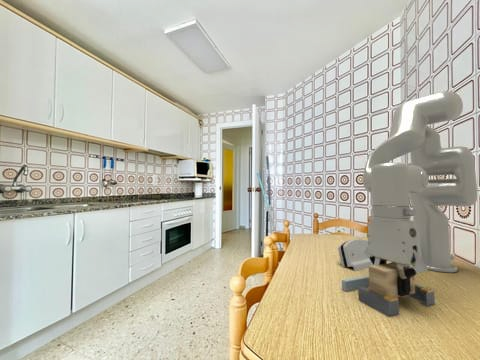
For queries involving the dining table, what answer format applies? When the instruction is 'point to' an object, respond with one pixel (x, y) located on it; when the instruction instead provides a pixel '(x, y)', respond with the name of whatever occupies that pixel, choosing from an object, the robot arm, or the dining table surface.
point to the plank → (355, 283)
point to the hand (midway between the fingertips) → (392, 289)
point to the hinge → (354, 254)
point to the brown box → (386, 279)
